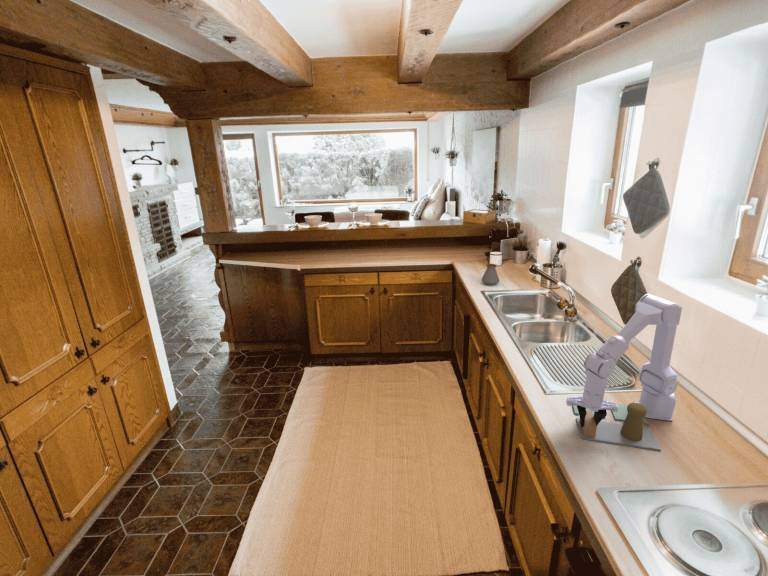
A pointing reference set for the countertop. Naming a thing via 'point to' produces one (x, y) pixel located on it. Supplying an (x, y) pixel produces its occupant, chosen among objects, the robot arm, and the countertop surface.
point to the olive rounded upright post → (634, 422)
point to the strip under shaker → (614, 434)
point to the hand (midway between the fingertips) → (587, 425)
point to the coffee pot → (490, 275)
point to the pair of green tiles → (618, 415)
